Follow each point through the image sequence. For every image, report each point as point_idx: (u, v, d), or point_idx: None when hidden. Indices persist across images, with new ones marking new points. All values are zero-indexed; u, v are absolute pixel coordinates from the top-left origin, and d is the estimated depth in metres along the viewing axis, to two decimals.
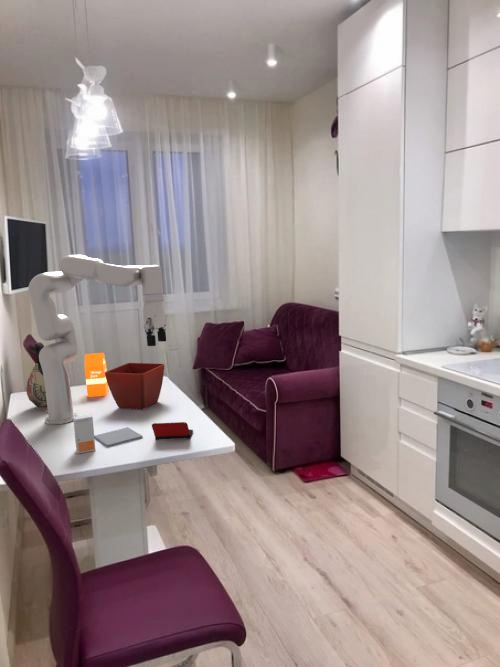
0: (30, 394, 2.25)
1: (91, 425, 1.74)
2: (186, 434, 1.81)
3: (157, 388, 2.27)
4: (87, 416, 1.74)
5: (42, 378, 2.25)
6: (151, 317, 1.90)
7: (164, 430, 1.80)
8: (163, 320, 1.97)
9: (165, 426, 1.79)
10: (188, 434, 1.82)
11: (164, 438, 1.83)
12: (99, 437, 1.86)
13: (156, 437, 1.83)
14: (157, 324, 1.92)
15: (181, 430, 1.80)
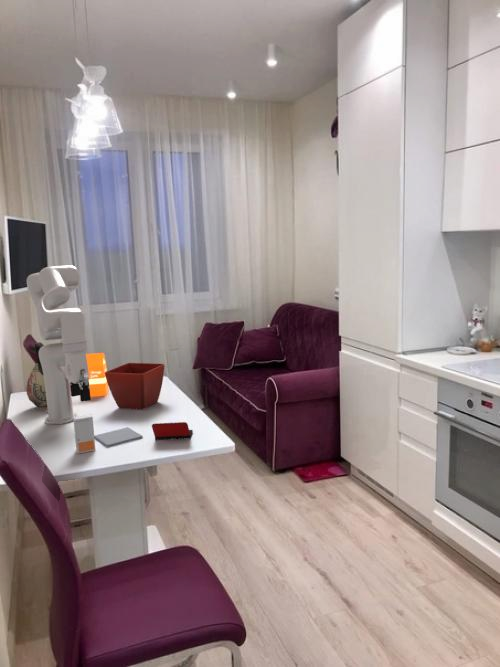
0: (30, 394, 2.25)
1: (91, 425, 1.74)
2: (186, 434, 1.81)
3: (157, 388, 2.27)
4: (87, 416, 1.74)
5: (42, 378, 2.25)
6: (85, 368, 1.68)
7: (164, 430, 1.80)
8: None
9: (165, 426, 1.78)
10: (188, 434, 1.81)
11: (164, 438, 1.82)
12: (99, 437, 1.86)
13: (156, 437, 1.82)
14: None
15: (181, 430, 1.80)
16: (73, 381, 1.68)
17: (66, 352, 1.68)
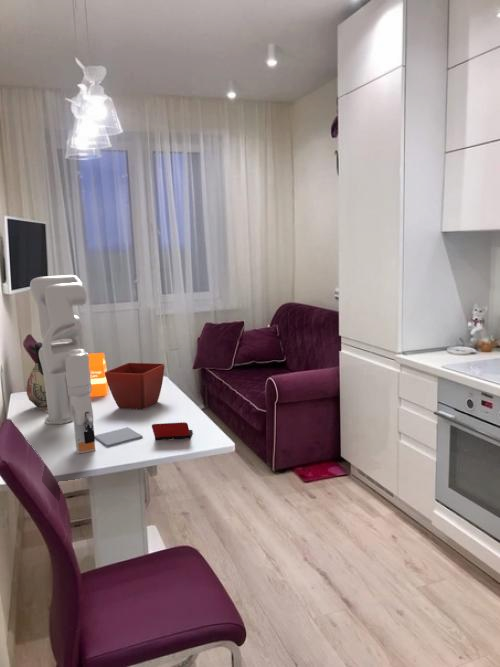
0: (30, 394, 2.25)
1: None
2: (186, 434, 1.81)
3: (157, 388, 2.27)
4: None
5: (42, 378, 2.25)
6: (89, 411, 1.71)
7: (164, 430, 1.80)
8: None
9: (165, 426, 1.78)
10: (188, 434, 1.81)
11: (164, 439, 1.82)
12: (99, 437, 1.86)
13: (156, 438, 1.82)
14: None
15: (181, 430, 1.80)
16: (77, 423, 1.70)
17: (71, 395, 1.70)
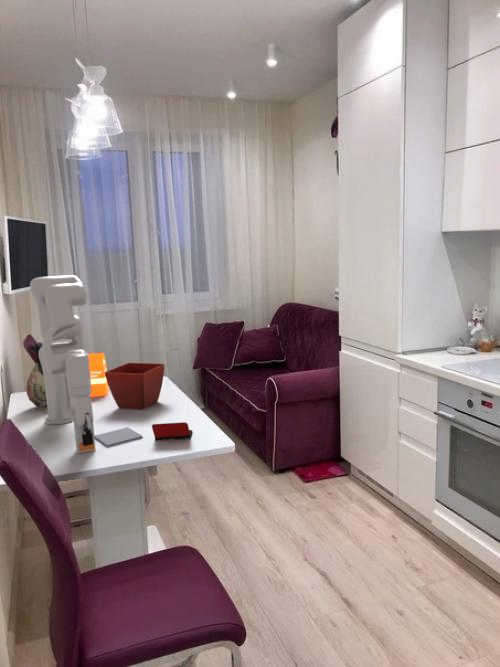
0: (30, 394, 2.25)
1: None
2: (186, 434, 1.81)
3: (157, 388, 2.27)
4: None
5: (42, 378, 2.25)
6: (89, 411, 1.71)
7: (164, 430, 1.79)
8: None
9: (165, 426, 1.78)
10: (188, 434, 1.81)
11: (164, 439, 1.82)
12: (99, 437, 1.86)
13: (156, 438, 1.82)
14: None
15: (181, 430, 1.80)
16: (78, 424, 1.71)
17: (71, 396, 1.70)
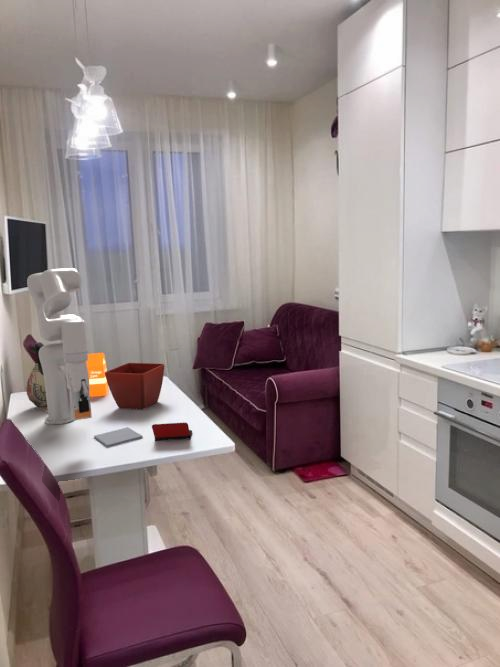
0: (30, 394, 2.25)
1: None
2: (186, 434, 1.81)
3: (157, 388, 2.27)
4: None
5: (42, 378, 2.25)
6: (85, 378, 1.69)
7: (164, 430, 1.79)
8: None
9: (165, 427, 1.78)
10: (188, 434, 1.81)
11: (164, 439, 1.82)
12: (99, 437, 1.86)
13: (156, 438, 1.82)
14: None
15: (181, 430, 1.80)
16: (74, 391, 1.69)
17: (67, 362, 1.69)
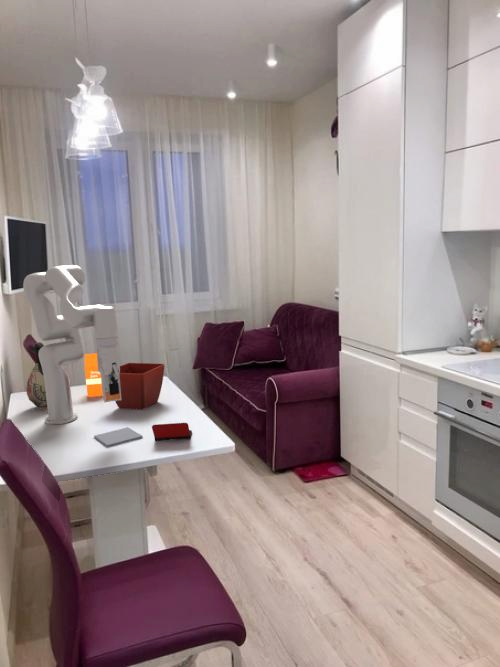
0: (30, 394, 2.25)
1: None
2: (186, 435, 1.81)
3: (157, 388, 2.27)
4: None
5: (42, 378, 2.25)
6: (116, 362, 1.79)
7: (164, 431, 1.79)
8: None
9: (166, 427, 1.78)
10: (188, 435, 1.81)
11: (164, 439, 1.81)
12: (99, 437, 1.86)
13: (156, 438, 1.81)
14: None
15: (181, 431, 1.79)
16: (105, 373, 1.79)
17: (99, 346, 1.78)
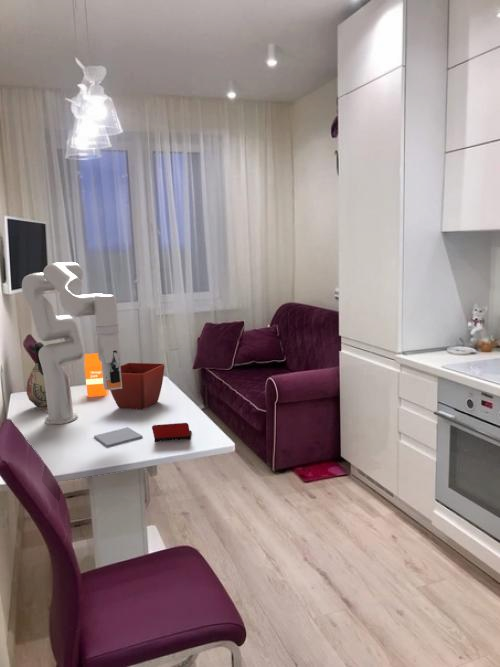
0: (30, 394, 2.25)
1: None
2: (186, 435, 1.81)
3: (157, 388, 2.27)
4: None
5: (42, 378, 2.25)
6: (117, 350, 1.79)
7: (164, 431, 1.79)
8: None
9: (166, 427, 1.77)
10: (188, 435, 1.81)
11: (164, 440, 1.81)
12: (99, 437, 1.86)
13: (156, 439, 1.81)
14: None
15: (182, 431, 1.79)
16: (106, 362, 1.79)
17: (99, 334, 1.78)
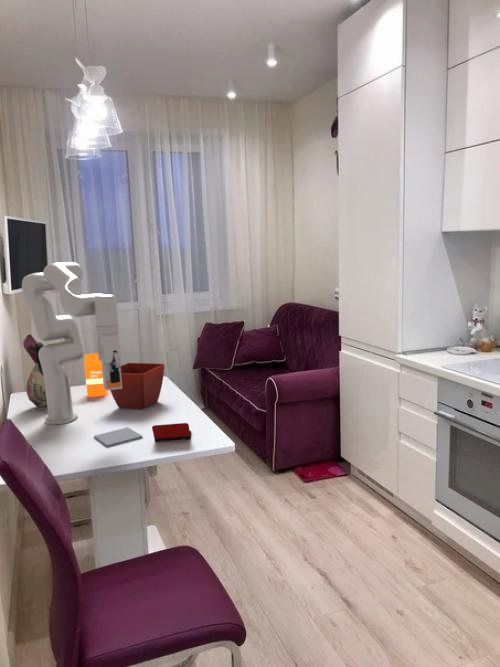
0: (30, 394, 2.25)
1: None
2: (186, 435, 1.80)
3: (157, 388, 2.27)
4: None
5: (42, 378, 2.25)
6: (117, 350, 1.79)
7: (164, 431, 1.78)
8: None
9: (166, 427, 1.77)
10: (188, 435, 1.81)
11: (164, 440, 1.81)
12: (99, 437, 1.86)
13: (156, 439, 1.80)
14: None
15: (182, 431, 1.79)
16: (106, 362, 1.79)
17: (99, 334, 1.78)
